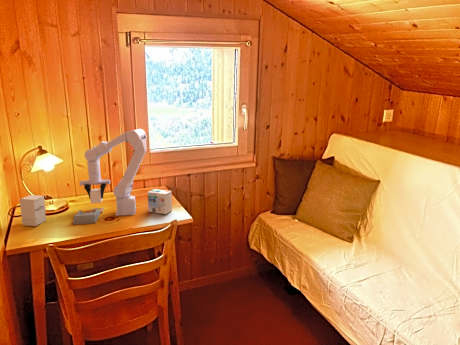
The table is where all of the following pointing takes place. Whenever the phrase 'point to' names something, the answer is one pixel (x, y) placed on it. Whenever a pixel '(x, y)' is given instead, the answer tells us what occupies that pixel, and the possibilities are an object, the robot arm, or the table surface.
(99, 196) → the block
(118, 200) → the robot arm
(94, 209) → the stand
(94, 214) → the tray
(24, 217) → the supplement box
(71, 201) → the table surface
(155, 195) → the light bulb box
